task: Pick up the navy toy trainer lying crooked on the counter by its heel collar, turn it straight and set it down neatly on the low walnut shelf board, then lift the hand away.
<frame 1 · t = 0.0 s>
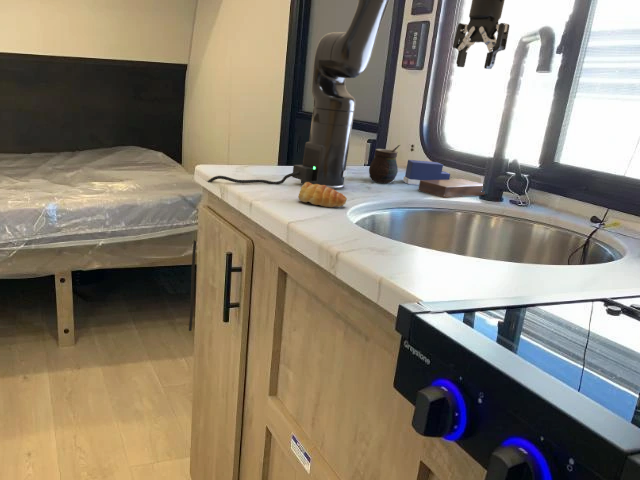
hand: (473, 67, 154), 29 cm above the countertop, tool pointing down, fingers open, 8 cm apart
pastry: (319, 204, 122), on the countertop
mate gourd: (381, 182, 154), on the countertop
trainer: (425, 184, 157), on the countertop
shelf board: (452, 192, 148), on the countertop
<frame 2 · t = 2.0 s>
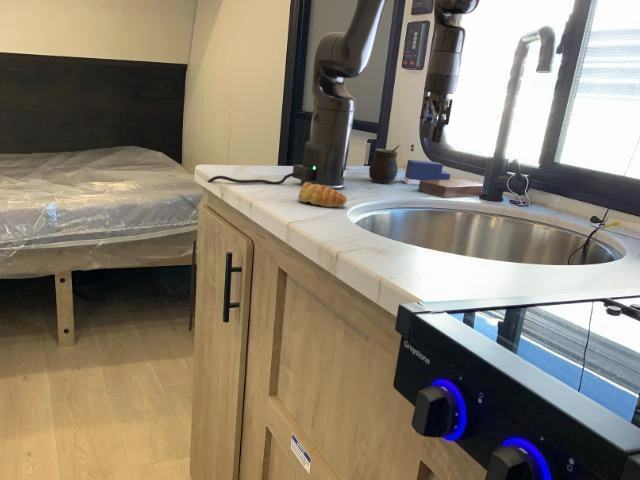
hand: (430, 140, 153), 11 cm above the countertop, tool pointing down, fingers open, 8 cm apart
nothing on the countertop moved.
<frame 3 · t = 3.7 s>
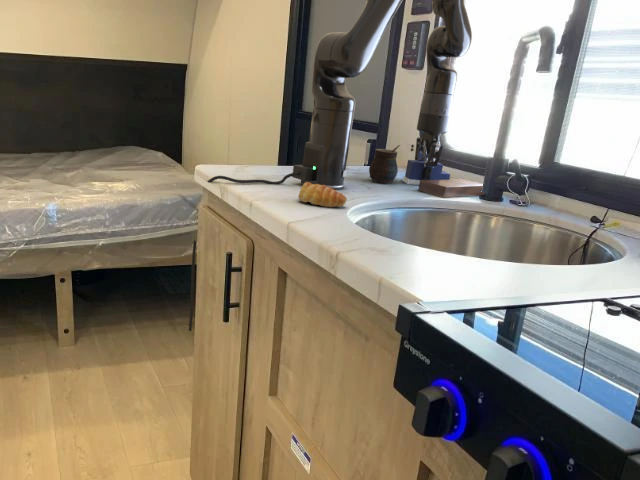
hand: (421, 180, 156), 1 cm above the countertop, tool pointing down, fingers closed on trainer, 4 cm apart
trainer: (425, 184, 157), on the countertop, touching gripper
everything else where it was.
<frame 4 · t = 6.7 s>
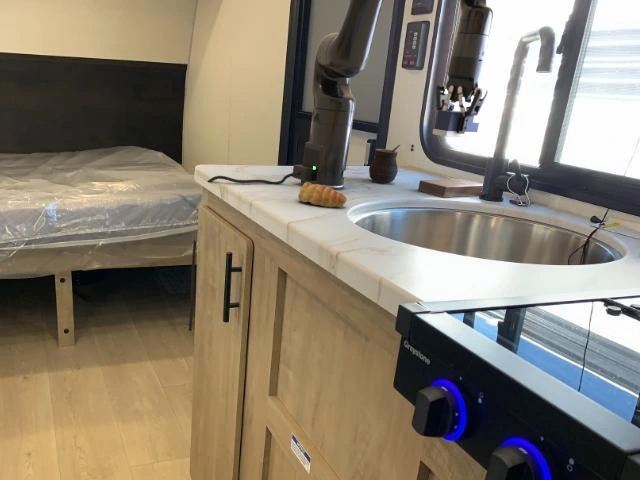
hand: (452, 131, 145), 14 cm above the countertop, tool pointing down, fingers closed on trainer, 4 cm apart
trainer: (455, 135, 146), point 13 cm above the countertop, touching gripper
everything else where it was.
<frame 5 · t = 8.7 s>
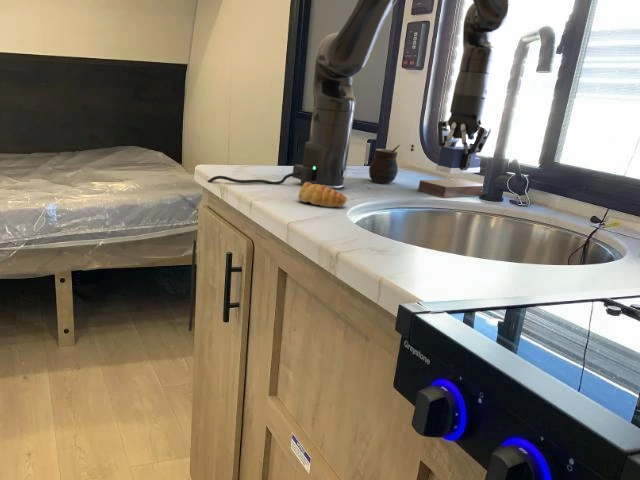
hand: (455, 167, 145), 6 cm above the countertop, tool pointing down, fingers closed on trainer, 4 cm apart
trainer: (457, 171, 146), point 5 cm above the countertop, touching gripper
everything else where it was.
when the fingers open (3 cm above the countertop, at t = 9.9 s): trainer stays where it is, resting on shelf board.
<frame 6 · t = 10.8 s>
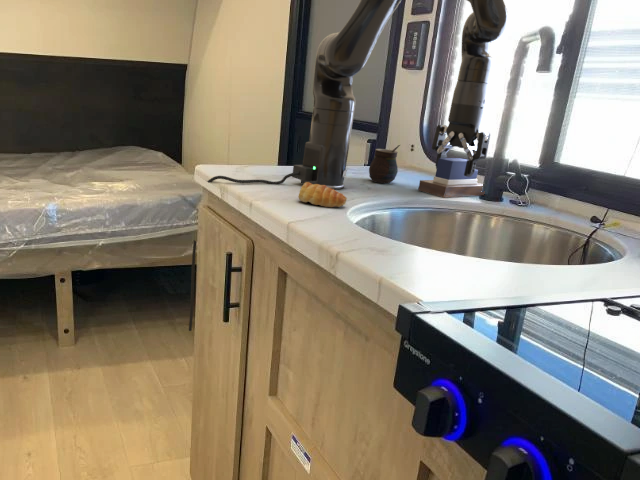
hand: (453, 172, 145), 5 cm above the countertop, tool pointing down, fingers open, 8 cm apart
trainer: (455, 182, 147), point 2 cm above the countertop, touching shelf board
everything else where it was.
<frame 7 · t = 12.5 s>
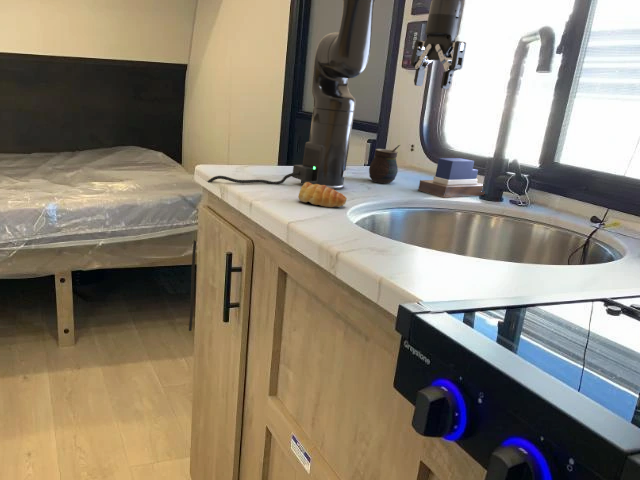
hand: (431, 87, 146), 24 cm above the countertop, tool pointing down, fingers open, 8 cm apart
nothing on the countertop moved.
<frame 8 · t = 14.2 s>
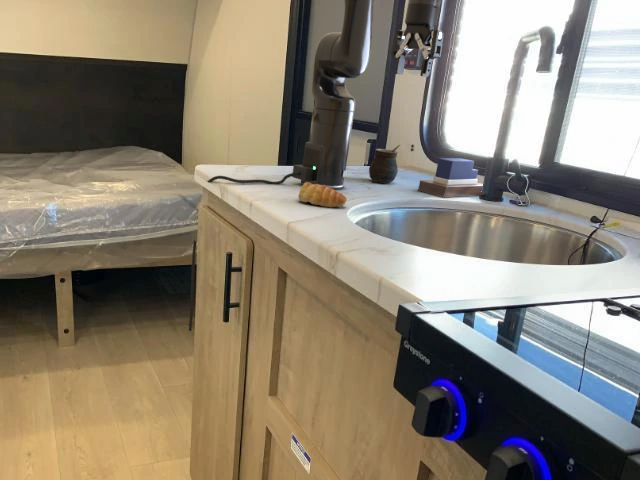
hand: (411, 75, 150), 26 cm above the countertop, tool pointing down, fingers open, 8 cm apart
nothing on the countertop moved.
at the end: trainer inside the target area (0.1 cm from its centre), point 2.5 cm above the countertop; trainer tilted 0°; the gripper is holding nothing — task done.
